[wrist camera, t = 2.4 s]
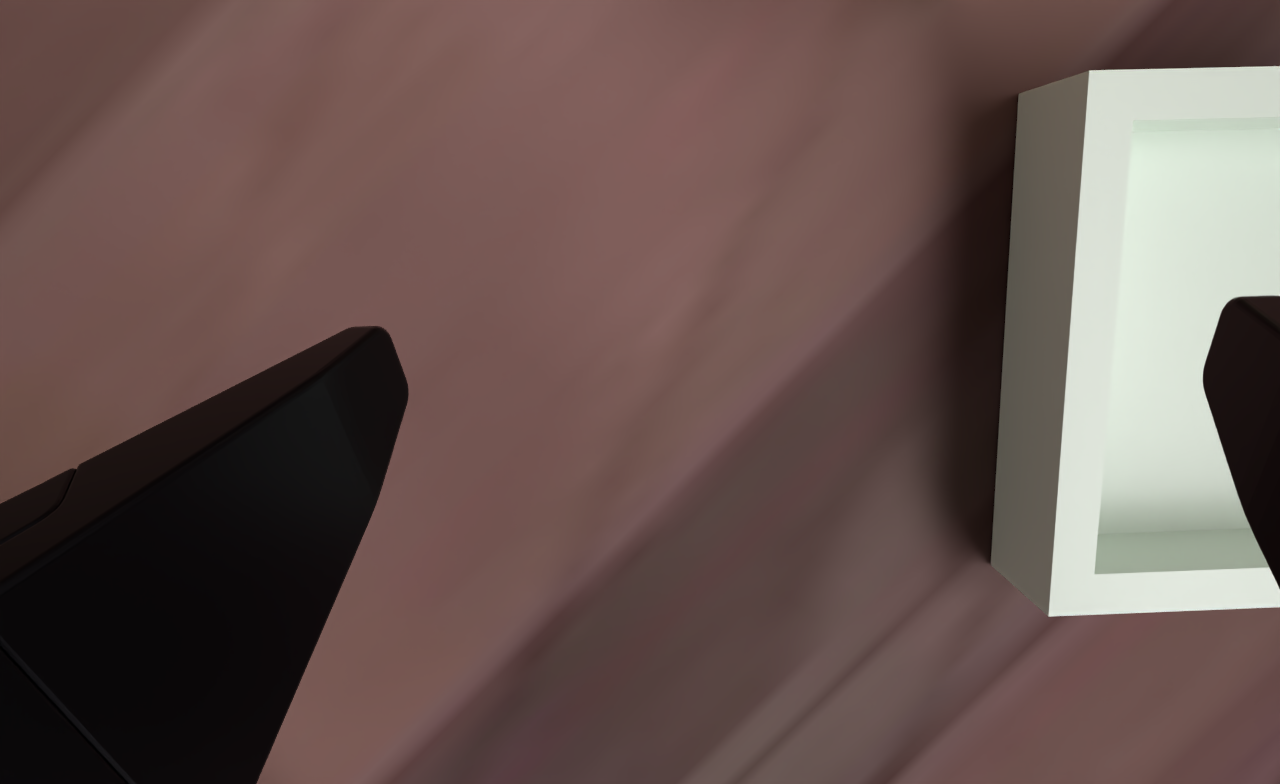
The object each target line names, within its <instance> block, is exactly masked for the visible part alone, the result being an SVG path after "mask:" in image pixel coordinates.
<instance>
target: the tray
mask: <svg viewBox="0 0 1280 784" xmlns="http://www.w3.org/2000/svg"><path fill="white" fill-rule="evenodd" d="M1268 295H1275V296H1280V66H1265V67H1220V68H1176V69H1131V70H1089V71H1086V72H1083V73H1080V74H1077V75H1074V76H1071V77H1068V78H1065V79H1062V80H1059V81H1056V82H1053V83H1050V84H1046V85H1043V86H1040V87H1037V88H1034V89H1031V90H1028V91H1025V92H1022V93H1019V96H1018V113H1017V130H1016V147H1015V164H1014V181H1013V197H1012V214H1011V231H1010V248H1009V265H1008V282H1007V298H1006V315H1005V332H1004V349H1003V366H1002V383H1001V399H1000V416H999V433H998V450H997V467H996V484H995V500H994V517H993V534H992V551H991V566H992V567H994V568H995V569H996V570H997V571H998V572H999V573H1000V574H1001V575H1003V576H1004V577H1005V578H1006V579H1007V580H1008V581H1009V582H1010V583H1011V584H1013V585H1014V586H1015V587H1016V588H1017V589H1018V590H1019V591H1020V592H1022V593H1023V594H1024V595H1025V596H1026V597H1027V598H1028V599H1029V600H1031V601H1032V602H1033V603H1034V604H1035V605H1036V606H1037V607H1038V608H1040V609H1041V610H1042V611H1043V612H1044V613H1045V614H1046V615H1047V616H1072V615H1097V614H1121V613H1146V612H1170V611H1195V610H1219V609H1244V608H1268V607H1280V589H1279V587H1278V584H1277V582H1276V580H1275V578H1274V576H1273V574H1272V572H1271V570H1270V568H1269V566H1268V564H1267V562H1266V559H1265V557H1264V555H1263V553H1262V551H1261V549H1260V547H1259V545H1258V543H1257V541H1256V539H1255V536H1254V534H1253V532H1252V530H1251V528H1250V525H1249V523H1248V521H1247V518H1246V516H1245V514H1244V511H1243V508H1242V506H1241V503H1240V500H1239V497H1238V495H1237V492H1236V488H1235V485H1234V482H1233V479H1232V476H1231V473H1230V470H1229V467H1228V464H1227V460H1226V457H1225V454H1224V451H1223V448H1222V445H1221V442H1220V439H1219V436H1218V433H1217V429H1216V426H1215V423H1214V420H1213V417H1212V414H1211V411H1210V408H1209V405H1208V401H1207V398H1206V395H1205V392H1204V388H1203V369H1204V365H1205V361H1206V358H1207V355H1208V352H1209V349H1210V346H1211V342H1212V339H1213V336H1214V333H1215V330H1216V327H1217V324H1218V320H1219V317H1220V314H1221V312H1222V309H1223V308H1224V306H1225V305H1226V303H1227V302H1228V301H1230V300H1231V299H1233V298H1235V297H1241V296H1268Z"/></svg>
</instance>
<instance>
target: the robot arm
mask: <svg viewBox="0 0 1280 784" xmlns="http://www.w3.org/2000/svg"><path fill="white" fill-rule="evenodd" d="M1203 388H1204V392H1205V395H1206V398H1207V401H1208V405H1209V408H1210V411H1211V414H1212V417H1213V420H1214V423H1215V426H1216V429H1217V433H1218V436H1219V439H1220V442H1221V445H1222V448H1223V451H1224V454H1225V457H1226V460H1227V464H1228V467H1229V470H1230V473H1231V476H1232V479H1233V482H1234V485H1235V488H1236V492H1237V495H1238V497H1239V500H1240V503H1241V506H1242V508H1243V511H1244V514H1245V516H1246V518H1247V521H1248V523H1249V525H1250V528H1251V530H1252V532H1253V534H1254V536H1255V539H1256V541H1257V543H1258V545H1259V547H1260V549H1261V551H1262V553H1263V555H1264V557H1265V559H1266V562H1267V564H1268V566H1269V568H1270V570H1271V572H1272V574H1273V576H1274V578H1275V580H1276V582H1277V584H1278V587H1279V589H1280V296H1275V295H1268V296H1241V297H1235V298H1233V299H1231V300H1230V301H1228V302H1227V303H1226V305H1225V306H1224V308H1223V309H1222V312H1221V314H1220V317H1219V320H1218V324H1217V327H1216V330H1215V333H1214V336H1213V339H1212V342H1211V346H1210V349H1209V352H1208V355H1207V358H1206V361H1205V365H1204V369H1203ZM407 401H408V384H407V380H406V377H405V374H404V372H403V369H402V366H401V363H400V361H399V358H398V355H397V353H396V350H395V347H394V344H393V342H392V339H391V337H390V335H389V333H388V332H387V331H386V330H385V329H384V328H382V327H379V326H363V327H351V328H348V329H345V330H343V331H341V332H340V333H338V334H336V335H334V336H332V337H330V338H328V339H326V340H324V341H322V342H320V343H318V344H316V345H314V346H312V347H310V348H308V349H306V350H304V351H302V352H300V353H298V354H296V355H294V356H292V357H290V358H288V359H286V360H284V361H282V362H280V363H278V364H276V365H274V366H272V367H271V368H269V369H267V370H265V371H263V372H261V373H259V374H257V375H255V376H253V377H251V378H249V379H247V380H245V381H243V382H241V383H239V384H237V385H235V386H233V387H231V388H229V389H227V390H225V391H223V392H221V393H219V394H217V395H215V396H213V397H211V398H209V399H207V400H205V401H203V402H202V403H200V404H198V405H196V406H194V407H192V408H190V409H188V410H186V411H184V412H182V413H180V414H178V415H176V416H174V417H172V418H170V419H168V420H166V421H164V422H162V423H160V424H158V425H156V426H154V427H152V428H150V429H148V430H146V431H144V432H142V433H140V434H138V435H136V436H135V437H133V438H131V439H129V440H127V441H125V442H123V443H121V444H119V445H117V446H115V447H113V448H111V449H109V450H107V451H105V452H103V453H101V454H99V455H97V456H95V457H93V458H91V459H89V460H87V461H85V462H83V463H81V464H80V465H79V466H78V468H77V469H74V468H72V469H69V470H67V471H65V472H63V473H61V474H59V475H57V476H55V477H53V478H51V479H49V480H47V481H45V482H44V483H42V484H40V485H38V486H36V487H34V488H31V489H29V490H27V491H25V492H23V493H21V494H19V495H17V496H15V497H13V498H11V499H9V500H7V501H5V502H3V503H1V504H0V784H256V783H257V781H258V779H259V776H260V774H261V772H262V769H263V767H264V765H265V762H266V760H267V758H268V755H269V753H270V751H271V748H272V746H273V744H274V741H275V739H276V737H277V734H278V732H279V730H280V727H281V725H282V723H283V720H284V718H285V716H286V714H287V711H288V709H289V707H290V704H291V702H292V700H293V697H294V695H295V693H296V690H297V688H298V686H299V683H300V681H301V679H302V676H303V674H304V672H305V669H306V667H307V665H308V662H309V660H310V658H311V655H312V653H313V651H314V648H315V646H316V644H317V642H318V639H319V637H320V635H321V632H322V630H323V628H324V625H325V623H326V621H327V618H328V616H329V614H330V611H331V609H332V607H333V604H334V602H335V600H336V597H337V595H338V593H339V590H340V588H341V586H342V583H343V581H344V579H345V577H346V574H347V572H348V570H349V567H350V565H351V563H352V560H353V558H354V556H355V553H356V551H357V549H358V546H359V544H360V542H361V539H362V537H363V535H364V532H365V530H366V528H367V525H368V523H369V521H370V518H371V516H372V513H373V511H374V508H375V506H376V503H377V500H378V497H379V494H380V491H381V488H382V485H383V482H384V479H385V475H386V472H387V469H388V465H389V462H390V459H391V455H392V452H393V449H394V445H395V442H396V439H397V435H398V432H399V429H400V425H401V422H402V419H403V415H404V412H405V409H406V405H407Z"/></svg>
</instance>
